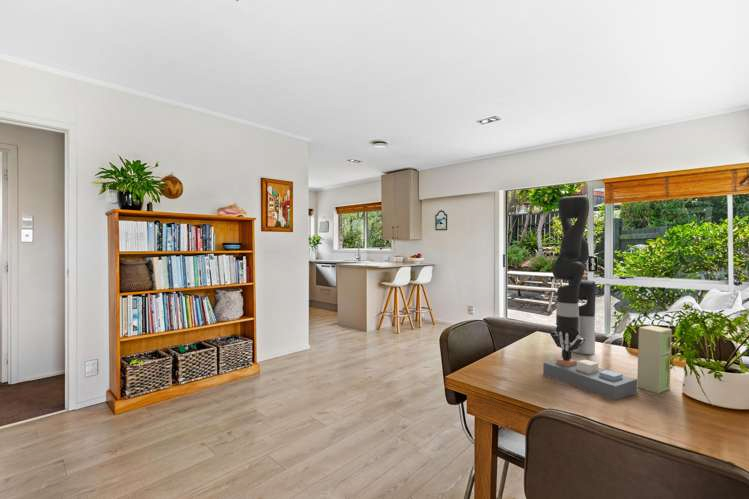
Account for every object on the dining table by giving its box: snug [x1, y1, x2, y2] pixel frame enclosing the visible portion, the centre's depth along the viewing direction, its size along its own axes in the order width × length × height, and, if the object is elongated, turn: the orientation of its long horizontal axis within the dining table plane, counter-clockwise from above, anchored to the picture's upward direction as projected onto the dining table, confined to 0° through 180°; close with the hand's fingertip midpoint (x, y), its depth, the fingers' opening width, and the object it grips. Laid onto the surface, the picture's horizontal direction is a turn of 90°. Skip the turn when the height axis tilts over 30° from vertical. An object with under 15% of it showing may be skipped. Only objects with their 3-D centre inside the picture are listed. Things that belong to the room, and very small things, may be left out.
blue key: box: [599, 369, 623, 382], centre depth 126 cm, size 5×5×4 cm
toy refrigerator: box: [636, 325, 673, 394], centre depth 128 cm, size 8×7×21 cm
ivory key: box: [576, 359, 599, 374], centre depth 132 cm, size 5×5×4 cm
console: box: [542, 359, 638, 401], centre depth 133 cm, size 13×26×4 cm, turn 29°
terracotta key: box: [556, 357, 578, 367], centre depth 140 cm, size 5×5×4 cm
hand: (566, 359), depth 139 cm, fingers closed
